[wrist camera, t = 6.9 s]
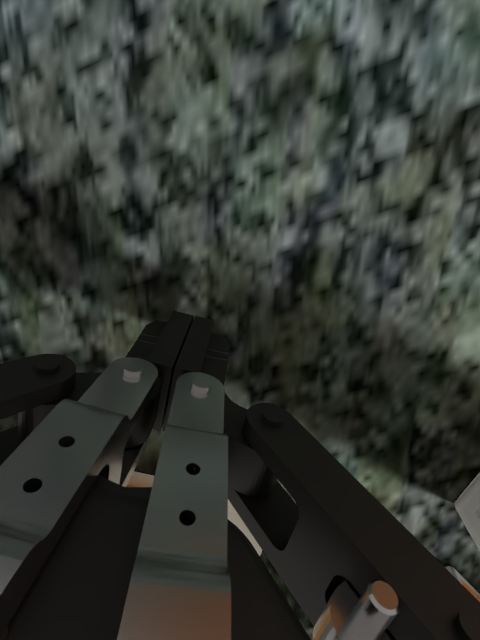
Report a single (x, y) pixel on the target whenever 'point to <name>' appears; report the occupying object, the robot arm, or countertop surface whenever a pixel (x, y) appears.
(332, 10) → the countertop surface
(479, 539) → the syrup box
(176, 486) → the robot arm
